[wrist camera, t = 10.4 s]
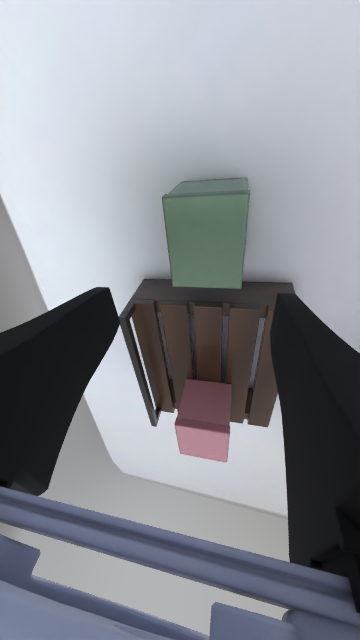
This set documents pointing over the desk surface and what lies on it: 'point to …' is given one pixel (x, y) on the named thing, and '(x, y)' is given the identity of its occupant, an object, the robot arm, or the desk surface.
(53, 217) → the desk surface
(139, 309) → the rack
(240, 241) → the sage box
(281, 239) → the desk surface
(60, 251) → the desk surface
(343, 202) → the desk surface
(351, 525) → the robot arm
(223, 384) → the rose box
